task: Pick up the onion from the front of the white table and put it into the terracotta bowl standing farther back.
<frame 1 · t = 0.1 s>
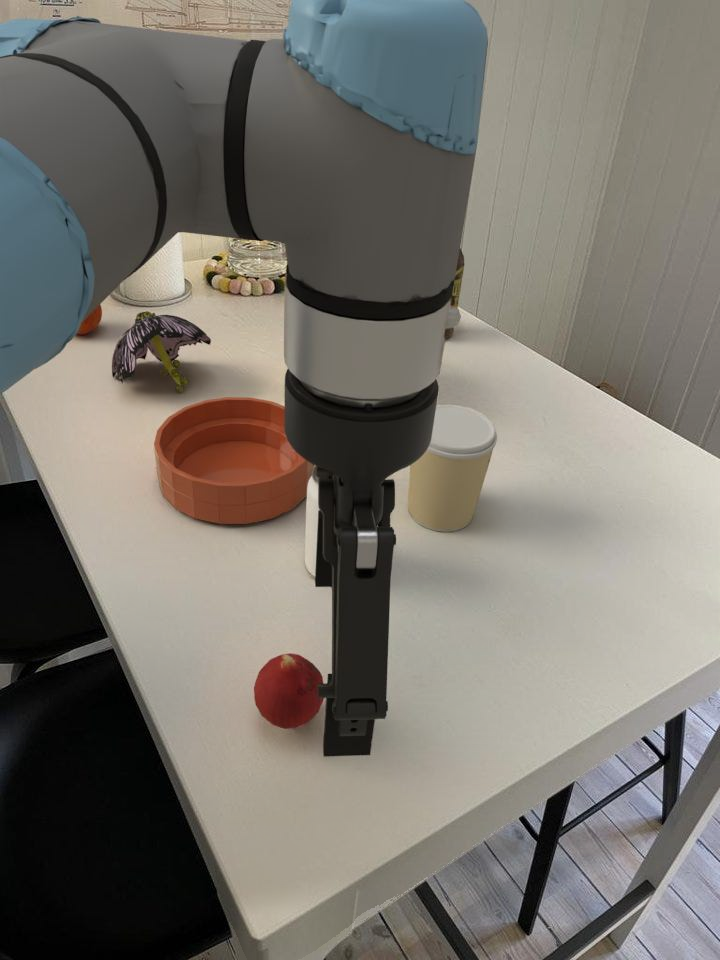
hand: (339, 657, 49), 17 cm above the table, tool pointing down, fingers open, 13 cm apart
bowl: (237, 478, 91), on the table
fruit: (81, 333, 118), on the table
sauce bottle: (434, 334, 127), on the table
coffee cup: (440, 512, 89), on the table
can: (334, 565, 80), on the table
onion: (288, 719, 65), on the table
purple butterfly: (160, 382, 108), on the table
kettle: (355, 393, 109), on the table
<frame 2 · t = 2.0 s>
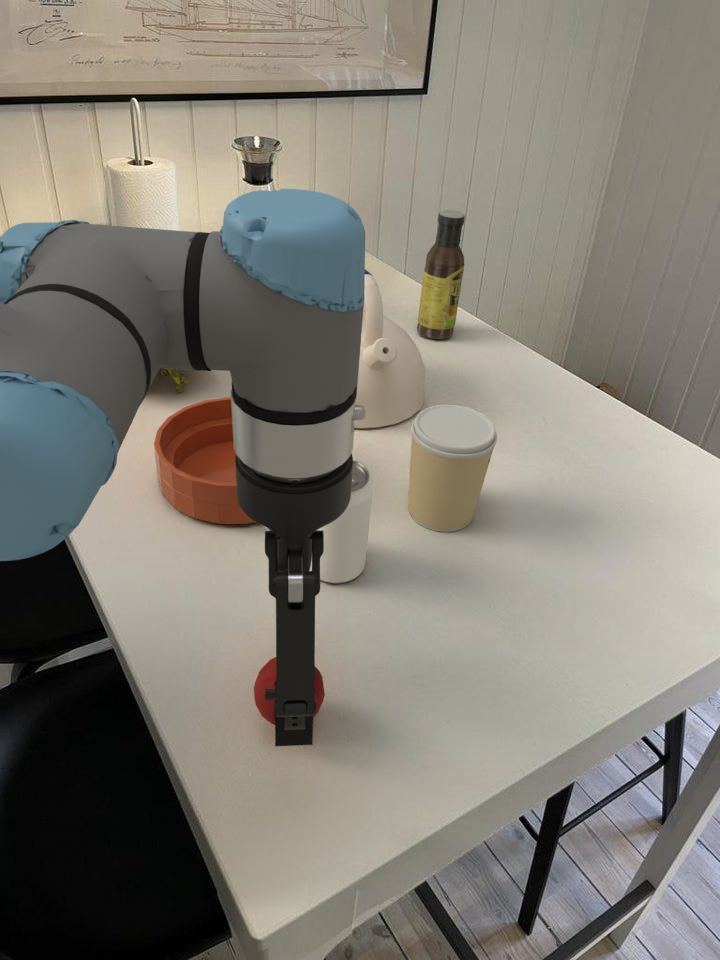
hand: (292, 667, 61), 7 cm above the table, tool pointing down, fingers open, 13 cm apart
nothing on the table moved.
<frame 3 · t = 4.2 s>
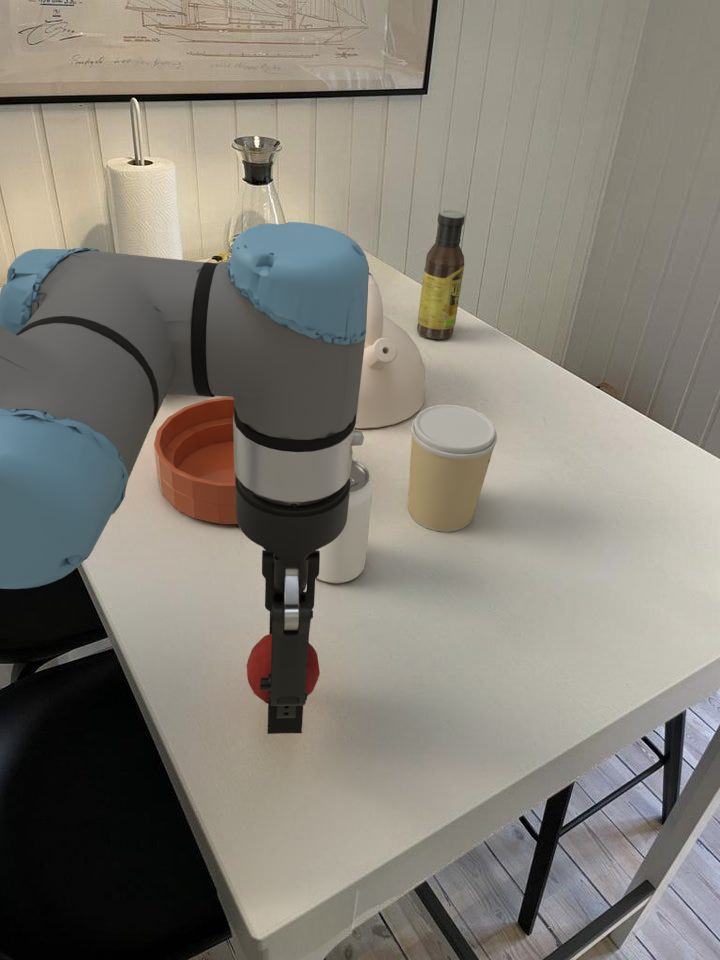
hand: (284, 695, 63), 3 cm above the table, tool pointing down, fingers closed on onion, 6 cm apart
onion: (281, 698, 63), point 3 cm above the table, touching gripper
everything else where it was.
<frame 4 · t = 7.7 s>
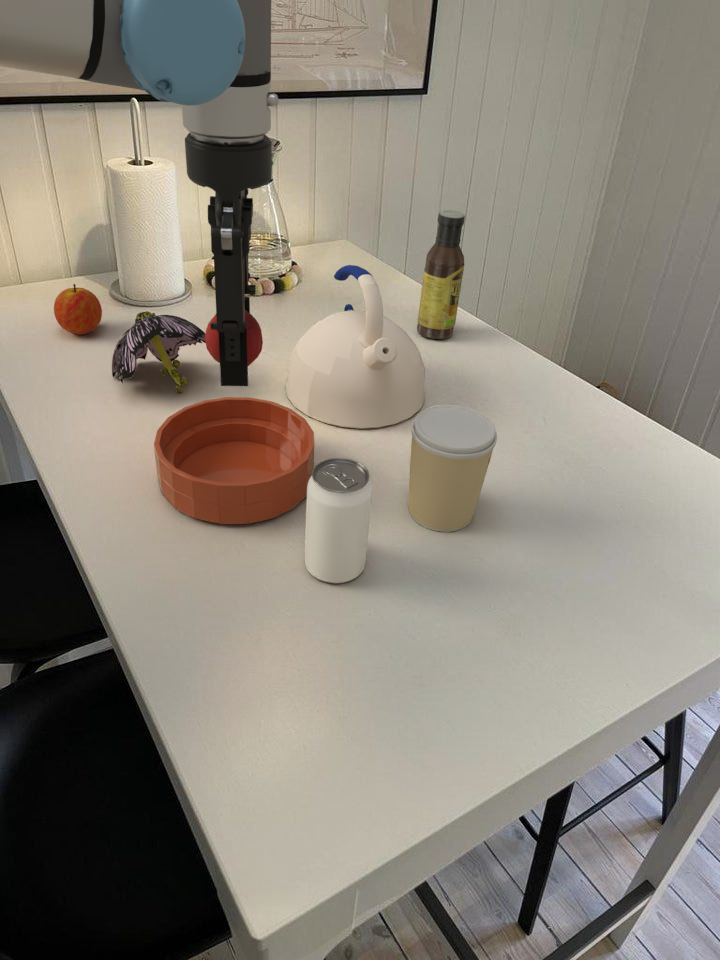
hand: (236, 368, 79), 16 cm above the table, tool pointing down, fingers closed on onion, 6 cm apart
onion: (235, 372, 80), point 16 cm above the table, touching gripper
everything else where it was.
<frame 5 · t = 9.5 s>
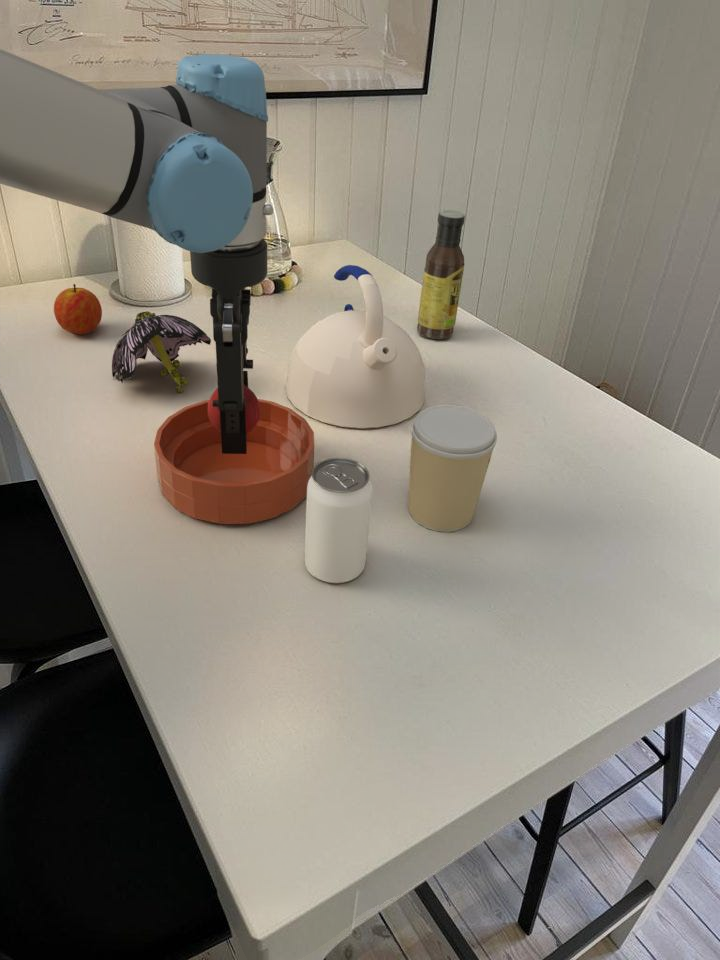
hand: (235, 435, 87), 6 cm above the table, tool pointing down, fingers closed on onion, 6 cm apart
onion: (234, 438, 87), point 6 cm above the table, touching gripper
everything else where it was.
when the fingers open (2 cm above the table, at t = 11.2 s): onion stays where it is, resting on bowl.
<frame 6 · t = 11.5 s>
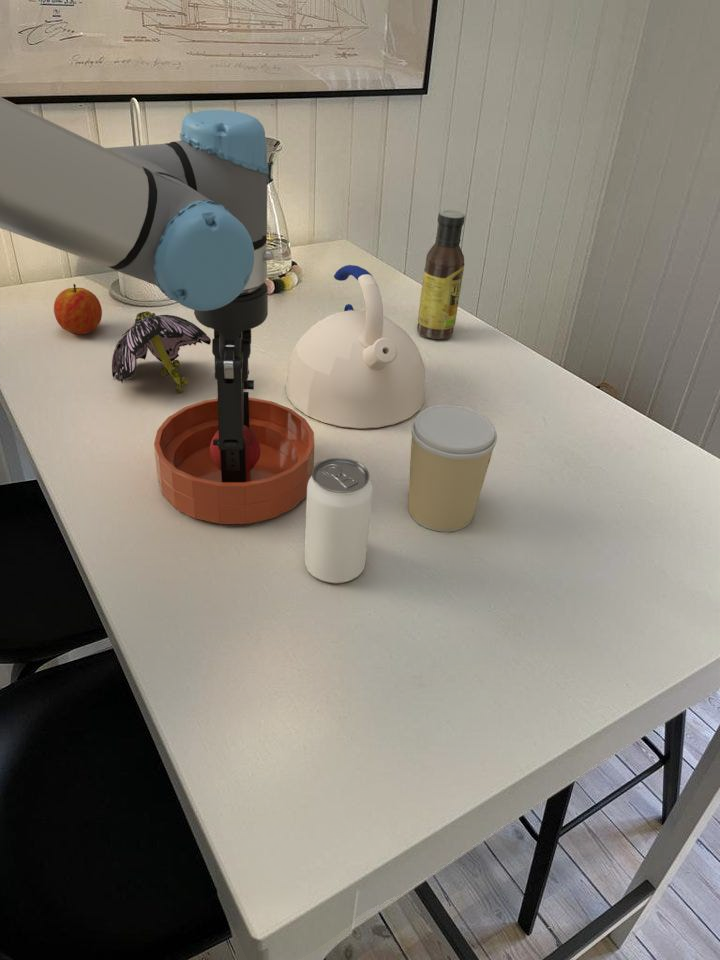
hand: (236, 461, 89), 3 cm above the table, tool pointing down, fingers open, 9 cm apart
onion: (235, 475, 91), resting on bowl
everything else where it was.
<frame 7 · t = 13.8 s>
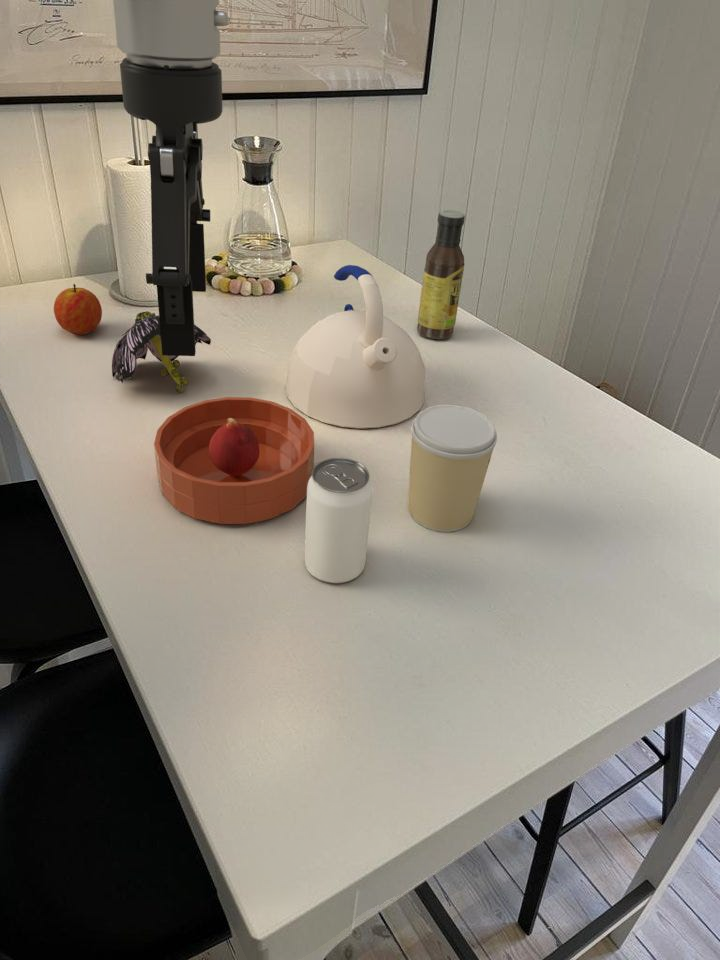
hand: (186, 319, 69), 25 cm above the table, tool pointing down, fingers open, 13 cm apart
nothing on the table moved.
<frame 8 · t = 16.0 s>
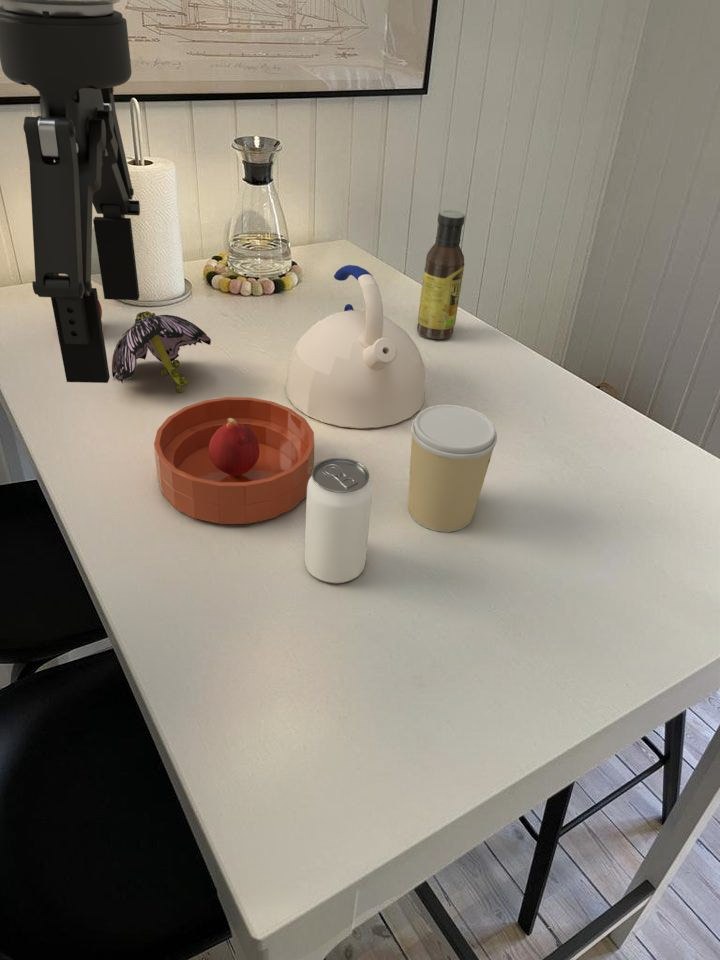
hand: (106, 335, 57), 29 cm above the table, tool pointing down, fingers open, 13 cm apart
nothing on the table moved.
at the end: onion inside the target area in the bowl (0.2 cm from its centre), point 0.4 cm above the bowl's base; the gripper is holding nothing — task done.
